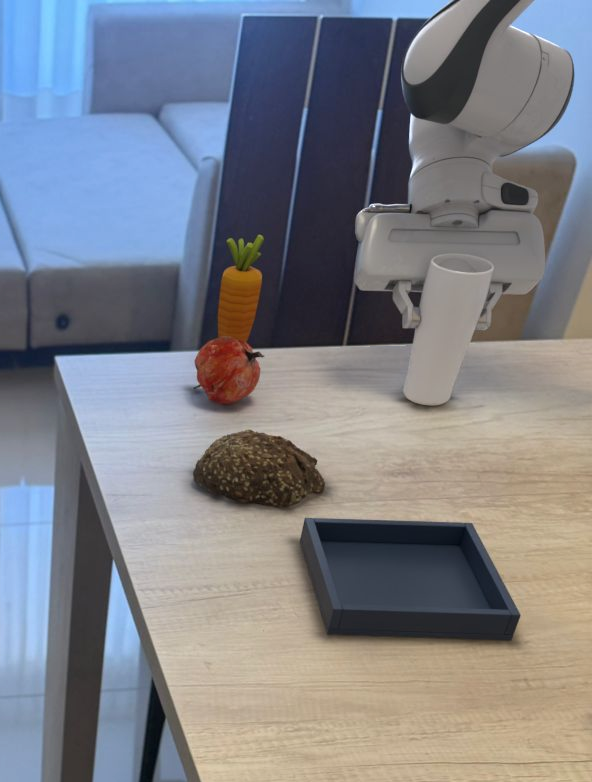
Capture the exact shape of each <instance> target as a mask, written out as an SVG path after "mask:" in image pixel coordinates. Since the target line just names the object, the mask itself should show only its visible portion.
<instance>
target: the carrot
mask: <svg viewBox="0 0 592 782" xmlns="http://www.w3.org/2000/svg"><path fill="white" fill-rule="evenodd" d="M264 241H265V239H264V236H263V235H261V234H258V235H257V236H256V238H255V240H254V241H253V243H252V242H247V244H246V245H245V242H244V239H243V238H239V239H238V246H237V243H236V242H235V240H234V238H232V237H230V238H228V239H227V240H226V244H227V246H228V248H229V250H230V253H231V255H232V258H233V261H234V264H235V265H233V266H229V267H227V268H226V269H224V271H223V273H222V277H221V282H220V289H219V299H218V311H217V333H218V338H219V337H221V336H229V337H232V338H234V339H236V340H243V341H245V342H246V343H247V342H248V339H249V337H250V334H251V331H252V328H253V326H254V322H255V319H256V314H257V310H258V305H259V300H260V294H261V289H262V282H263V274H262V272H261V270H259V269H257V268H256V267H253V266H252V264H254V262H256V261H257V260H258V259H259V258H260V257H261V256H262V253H261V252H259V250H260V248H261V247H262V245H263V243H264Z"/></svg>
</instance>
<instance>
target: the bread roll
mask: <svg viewBox="0 0 592 782" xmlns="http://www.w3.org/2000/svg"><path fill="white" fill-rule="evenodd" d="M316 465H318V459H317V458H316V457H314V456H311V454H309V453H308V452H306V451H304V450H302V449H301V448H299V447H298V446H296V444H294V443H293V442H292V441H291V440H290V439H287V438H285V437H283V436H280V435H273V434H267V433H265V432H259V431H254V430H252V429H249V428H248V429H245V430H241V431H237V432H234V433H231V434H227V435H222V436H221V437H220V438H218V439H215V440H214V442H212V443H211V444H210V445H209V447H208V448H206V449H205V451H204V454H202V456H201V458H200V459H198V460H197V461H196V464H195V468H194V469H193V472H192V477H193V482H194V483H195V484H196V485H198V486H199V487H202V488H204V489H205V490H206V491H207V492H210V493H212V494H214V495H216V496H222V497H224V498H226V499H227V500H228V499H229V500H230V501H232V502H233V501H234V502H235V503H238V504H244V505H259V506H265V507H271V508H276V509H283V508H284V509H285V508H289V507H293V506H294V505H296V504H298V503H300V502H301V501H302V500H303V499H305V498H306V497H307V496H308V495H310V494H321V493H322V492H323V491H324V490H325V489H326V483H325V479H324V477H323V476H322V474H321V473H320V471H319V470H318V468H316Z"/></svg>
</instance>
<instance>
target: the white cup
mask: <svg viewBox="0 0 592 782" xmlns="http://www.w3.org/2000/svg"><path fill="white" fill-rule="evenodd" d="M451 258H457V259H461V260H464V261H466V262H467V263H469V264H470V265H471V266H472V267H473V268H474V270H475V271H476V273H467V272H458V271H453V270H448V269H445V268H442V267H440V266H438V264H439V263H441V262H442V261H444V260H447V259H451ZM493 271H494V265H493V264H492V263H491V262H489V261H488V260H486V259H483V258H480V257H477V256H472V255H467V254H455V253H451V254H441V255H437V256H435V257H433V258H432V259H431V262H430V265H429V268H428V272H427V275H426V278H425V282H424V286H423V290H422V292H421V295H420V300H419V304H418V307H420V312H421V313H420V317H421V320H420V324H419V325H418V326H417V328H414V332H413V333H414V334H413V339H412V345H411V350H410V356H409V363H408V367H407V374H406V378H405V381H404V385H403V390H402V392H403V395H404V397H405V398H406V399H407V400H409V401H410V402H413V403H414V404H418V405H423V406H429V407H430V406H441V405H444V404H445V403H447V402H448V401H449V400H450V398H451V397H452V393H453V390H454V388H455V387H454V386H455V383H456V380H457V378H458V375H459V373H460V369H461V367H462V364H463V362H464V359H465V356H466V353H467V351H468V349H469V346H470V343H471V341H472V338H473V336H474V333H475V331H476V330H475V328H476V326H477V323H478V320H479V318H480V315H481V312H482V310H483V309H484V307H485V305H486V304H485V303H486V302H485V301H486V297H487V294H488V291H489V287H490V283H491V279H492V275H493Z"/></svg>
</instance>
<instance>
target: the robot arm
mask: <svg viewBox="0 0 592 782" xmlns="http://www.w3.org/2000/svg"><path fill="white" fill-rule="evenodd" d="M533 2H535V0H450V1H448V2H447V3H446V4H444V6H442V7H441V8H440V9H438V10H437V11H436V12H435V13H434V14H432V16H430V17H429V18H428V19H427V20H426V21H425V22H424V23H423V24H422V25H421V26H420V27H419V29H418V30H417V31H416V33H415V34H414V35H413V37H412V38H411V40H410V42H409V43H408V45H407V48H406V50H405V53H404V55H403V58H402V63H401V69H400V71H401V72H400V80H401V81H400V82H401V89H402V94H403V98H404V102H405V104H406V106H407V109H408V110H409V112H410V120H409V122H410V123H409V133H408V135H409V138H408V151H409V157H410V160H411V164H412V165H411V172H410V175H409V179H408V184H407V203H403V204H402V203H394V204H382V203H371V204H370V205H369V206H368V207H366V208H363V209H362V210H360V211H359V212H358V213H357V214H356V217H355V221H354V228H355V229H354V234H355V239H356V240H357V241H358V242H359V243H358V246H357V252H356V256H355V261H354V262H355V263H354V271H353V283H354V284H355V285H356V287H357V288H358V289H359V290H360V291H368V292H392V301H393V303H394V304H395V306H396V309H398V311H399V313H400V315H402V320H401V321H402V322H401V323H402V326H401V328H402V329H415V328H417V326H418V325H419V324H420V320H421V317H420V313H421V312H420V307H419V306H414V303H413V302H412V301H411V298H410V296H409V294H410V293H422V290H423V286H424V282H425V278H426V275H427V272H428V268H429V265H430V262H431V259H432V258H433V257H435V256H437V255H441V254H451V253H455V254H467V255H472V256H477V257H480V258H483V259H486V260H488V261H489V262H491V263H492V264H493V265H494V271H493V275H492V279H491V283H490V287H489V291H488V294H487V297H486V301H485V303H486V304H485V305H484V307H483V310H482V312H481V315H480V318H479V320H478V323H477V326H476V328H475V331H487V330H488V329H489V327H490V326H491V324H492V310H493V309H494V307H495V306H496V304H497V302H498V301H499V300H500V298H501V296H502V295H519V296H521V295H526V294H529V293H530V291H532V289H534V288H535V287H536V286H537V285H538V284H539V282H540V281H541V280H542V278H543V277H544V274H545V271H546V246H545V236H544V229H543V226H542V223H541V221H540V219H539V218H538V216H536V215H535V214H534V212H535V210H536V208H537V206H538V203H539V194H538V192H537V190H535V189H534V188H531V187H528V186H525V185H523V184H519V183H516V182H513V181H511V180H509V179H505V178H503V177H501V176H499V175H498V174H495V173H493V171H494V170H493V164H494V162H495V161H496V160H497V158H502V157H503V158H504V157H507V156H509V155H510V156H511V155H512V154H514V153H516V152H518V151H520V150H523V149H525V148H526V147H528V146H531V145H532V144H534V143H535V142H537V141H539V140H540V139H542V138H544V137H545V136H546V135H547V134H549V133H550V132H551V131H552V130H553V129H554V128H555V127H556V126H557V124H559V122H560V121H561V119H562V118H563V116H564V114H565V112H566V111H567V108H568V106H569V104H570V101H571V98H572V95H573V90H574V85H575V64H574V61H573V58H572V57H573V56H572V55H571V54H570V52H569V51H568V50H567V49H565V48H562V47H561V46H559V45H557V44H556V43H553V42H551V41H550V40H547V39H545V38H543V37H540V36H538V35H537V34H534V33H531V32H527V31H524V30H521V29H519V28H517V27H515V26H512V24H513V23H514V22H515V21H516V20H517V19H518V18H519V17H520V16H521V15H522V14H523V13H524V12H525V11H526V10H527V9H528V8H529V7H530V6H531V5H532V4H533ZM438 266H440V267H442V268H445V269H448V270H453V271H458V272H467V273H476V271H475V270H474V268H473V267H472V266H471V265H470V264H469V263H467V262H466V261H464V260H461V259H457V258H451V259H447V260H444V261H442V262H441V263H439V264H438Z"/></svg>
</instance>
